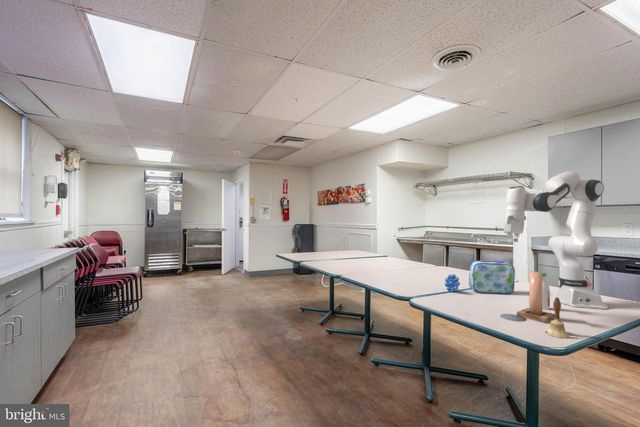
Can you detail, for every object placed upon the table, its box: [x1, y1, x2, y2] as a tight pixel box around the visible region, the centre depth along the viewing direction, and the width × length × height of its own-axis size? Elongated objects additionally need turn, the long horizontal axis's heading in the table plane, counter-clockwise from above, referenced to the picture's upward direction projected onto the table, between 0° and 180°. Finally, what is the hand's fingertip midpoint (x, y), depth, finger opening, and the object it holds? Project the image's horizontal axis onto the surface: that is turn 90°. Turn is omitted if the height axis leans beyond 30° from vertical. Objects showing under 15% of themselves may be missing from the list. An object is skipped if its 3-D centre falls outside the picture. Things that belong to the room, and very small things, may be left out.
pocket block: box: [516, 307, 555, 324], centre depth 150 cm, size 12×12×3 cm
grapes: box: [444, 273, 461, 293], centre depth 203 cm, size 12×7×12 cm, turn 26°
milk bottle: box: [540, 271, 551, 311], centre depth 166 cm, size 8×8×20 cm
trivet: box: [499, 313, 528, 323], centre depth 150 cm, size 11×11×1 cm
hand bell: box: [544, 297, 570, 339], centre depth 131 cm, size 8×8×16 cm
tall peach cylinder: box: [528, 271, 543, 316], centre depth 150 cm, size 5×5×22 cm
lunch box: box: [468, 260, 516, 295], centre depth 202 cm, size 26×11×21 cm, turn 81°
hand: (512, 242), depth 163 cm, fingers open, 8 cm apart
